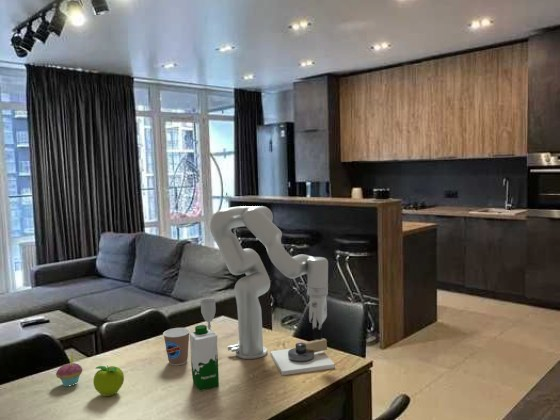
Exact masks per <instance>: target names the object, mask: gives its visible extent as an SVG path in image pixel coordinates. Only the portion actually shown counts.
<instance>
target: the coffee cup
mask: <svg viewBox="0 0 560 420" xmlns="http://www.w3.org/2000/svg"><path fill="white" fill-rule="evenodd" d="M190 331H191V329H189V328H186V327H175V328H169V329H167V330H165V331H164V332H162V335H163V337H164V342H165V343H164V344H165V351H166V354H167V360H168V363H169V365H172V366H179V365H184V364H186V363H187V362H188V359H189V358H188V357H189V354H188V353H189V344H190V342H189V341H190V333H191V332H190Z"/></svg>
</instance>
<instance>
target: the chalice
mask: <svg viewBox="0 0 560 420" xmlns="http://www.w3.org/2000/svg"><path fill="white" fill-rule="evenodd" d="M216 302H217V299H215V298H204V299H200V300H199V303H200V312H201V315H202V318H203V319H204V321H205V322H207V325H206V326H207V330H209V329H210V330H211V331H212V325H211V322H212V321H213V319H214V317H215V316H216V315H215V314H216V312H217V311H216Z"/></svg>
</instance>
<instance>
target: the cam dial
mask: <svg viewBox="0 0 560 420" xmlns="http://www.w3.org/2000/svg"><path fill="white" fill-rule="evenodd" d="M327 343H328V340H327V338H323V337H322V338H321V340H317V339H313V340H310V341H306V342H296V343H295V347H294V348H293V349H292V348H290V349H291V350H289V351H288V359H289V360H291V361H293V362H308V361H311V360H313V359H314V353H315V352H319V351H324V352H325V351H326V350H328V344H327Z"/></svg>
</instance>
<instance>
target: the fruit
mask: <svg viewBox="0 0 560 420" xmlns="http://www.w3.org/2000/svg"><path fill="white" fill-rule="evenodd" d="M95 369H96V370H97V369H99V370H97V371H96V372H95V374H94V377H93V387H94V389H95V390H96V392H98V393H99V394H100V395H101V396H103V397H109V396H113V395H116V393H118V392H119V390H120V389H121V388H122V386H123V384H124V380H125V374H124V371H123V370H122V369H121V368H120V367H117V366H115V365H110V366H109V365H107V366H104V365H99V366H96V367H95Z"/></svg>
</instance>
